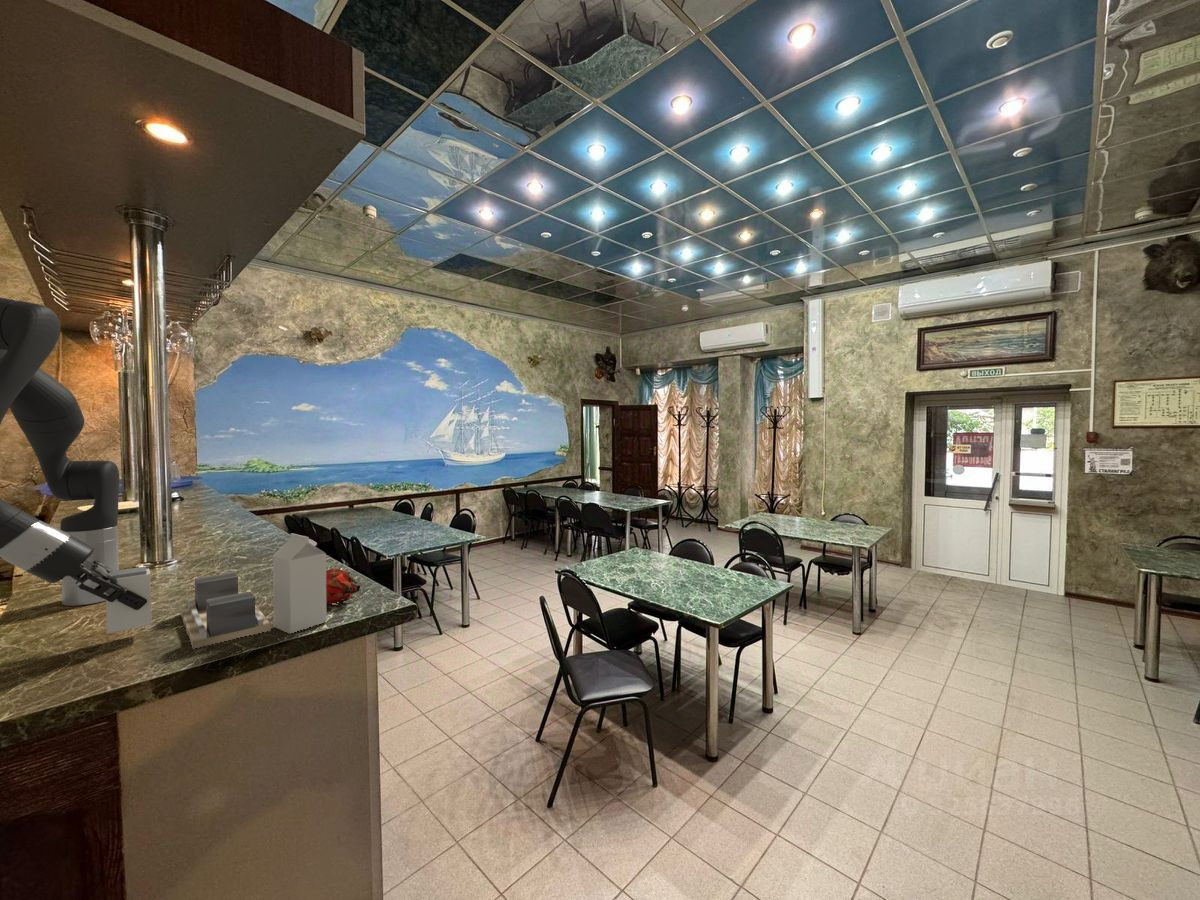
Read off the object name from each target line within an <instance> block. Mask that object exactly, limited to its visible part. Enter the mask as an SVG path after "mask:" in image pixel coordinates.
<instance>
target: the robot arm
mask: <svg viewBox="0 0 1200 900" xmlns="http://www.w3.org/2000/svg"><path fill="white" fill-rule="evenodd" d="M60 335H61V322H60V320H59V318H58V315H57V314H56V313H55V311H54V310H52V308H50V307H48V306H45V305H43V304H39V303H34V302H28V301H25V300H24V301H23V300H17V299H12V298H11V299H10V298H5V297H0V425H1V424H2V421H3V419H4V418H5V416H6V414H7V412H8V411H9V410H10V413H11V414H12V415H13V417H14V419H15V421H16V423H17V424H18V426H19V428H20V429H21V431H22V432H23V434H24V435H25V437H26V440H28V443H29V445H30V446H31V448H32V450H33V452H34V454H35V456H36V459H37V461H38V463H39V466H40V468H41V472H42V474H43V476H44V480H45V482H46V484H47V488H48V489H49V490H50V492H51V494H52V495H53V497H55V498H56V499H58V500H61V501H83V500H94V503H93V504H92V506H91V507H90V508H88V509H87V510H84V511H81V512H78V513H75V514H70V515H68V516H65V517H63V518H62V519H61V520H60V525H59V526H60V527H59V528H58V527H57V526H55V525H52V524H50V523H46V522H44V521H42V520H40V519H39V518H36V517H35V516H33V515H31V514H29V513H27V512H25V511H24V510H22V509H19V508H18V507H16V506H13V505H12V504H10V503H8V502H6V501H5V500H4V499H3V498H1V497H0V558H1V559H2V560H4V561H6V562H7V563H9V564H10V565H12V566H14V567H17V568H19V569H21V570H23V571H25V572H27V573H29V574H31V575H33V576H35V577H37V578H39V579H41V580H43V581H45V582H47V583H49V584H56V583H58V582H60V581H61V596H62V597H61V599H62V600H61V601H62V603H61V604H62V605H63V606H67V607H69V606H70V607H77V606H85V605H92V604H96V603H101V602H106V600H107V601H109V602H113V601H117V600H118V601H119V602H121V603H123V604H125V605H127V606H129V607H131V608H133V609H134V610H139V609H140V608H141V607H143V606H144V605H145V604H146V603H147V599H145V598H144V597H142V596H140V595H138V594H136V593H134V592H132V591H130V590H129V589H128V588H127V587H124V586H122V585H120V584H118V579H117V578H115V577H113V576H112V575H111V574H109V572H112V571H117V570H120V568H119V530H118V529H119V527H118V526H119V525H118V519H119V517H118V516H119V493H120V471H119V468H118V465H117V464H116V463H115V462H114V461H110V460H72V459H69V458H68V456H67V451H68V449H69V447H70V446H72V444H73V443H74V442H75V441H76V439H78V437H79V435H80V434H81V432H82V431H83V428H84V426H85V417H84V414H83V411H82V409H81V407H80V405H79V403H78V400H77V399H76V397H75V395H74V394H73V393H72V391H71V390H69V389H68V388H67V387H66V386H65V385H63V384H62V383H61V382H59V380H57V379H56V378H54V377H53V376H51V375H50V374H48V372H46V371H45V370H43V369H41V366H42V365H44V362H45V361H46V360H47V358H48V357H49V356H50V354H51V353H52V351H53V350H54V348H55V347H56V345H57V343H58V340H59V338H60ZM108 579H110V582H108V581H106V580H108ZM110 588H113V589H115V591H114V592H113V593H112V594H110V593H108V592H107V591H108V590H109V589H110Z"/></svg>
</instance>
